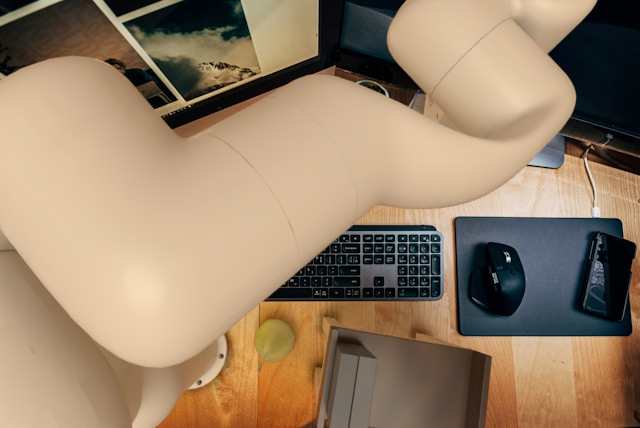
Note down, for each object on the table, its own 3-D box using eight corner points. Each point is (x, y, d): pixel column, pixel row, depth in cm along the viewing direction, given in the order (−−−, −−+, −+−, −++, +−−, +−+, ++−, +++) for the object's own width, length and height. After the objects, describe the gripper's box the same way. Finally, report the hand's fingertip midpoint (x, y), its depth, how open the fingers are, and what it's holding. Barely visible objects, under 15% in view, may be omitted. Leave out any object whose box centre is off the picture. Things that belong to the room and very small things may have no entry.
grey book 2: (340, 406, 53) (348, 432, 44) (349, 343, 55) (359, 355, 45) (355, 409, 53) (366, 436, 44) (364, 346, 55) (377, 358, 45)
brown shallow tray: (315, 415, 54) (316, 428, 49) (330, 325, 56) (332, 328, 51) (467, 441, 54) (482, 456, 49) (476, 350, 56) (492, 356, 51)
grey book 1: (324, 403, 53) (328, 429, 44) (334, 341, 55) (340, 352, 45) (339, 406, 53) (347, 432, 44) (349, 343, 55) (359, 355, 45)
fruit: (301, 327, 77) (301, 334, 65) (283, 368, 76) (279, 383, 64) (267, 311, 77) (260, 315, 65) (248, 352, 76) (238, 363, 64)
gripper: (457, -25, 44) (411, 68, 62) (437, 135, 41) (394, 184, 58) (530, -11, 44) (463, 77, 62) (516, 149, 41) (449, 194, 59)
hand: (430, 128), depth 60 cm, fingers closed on box, 5 cm apart
